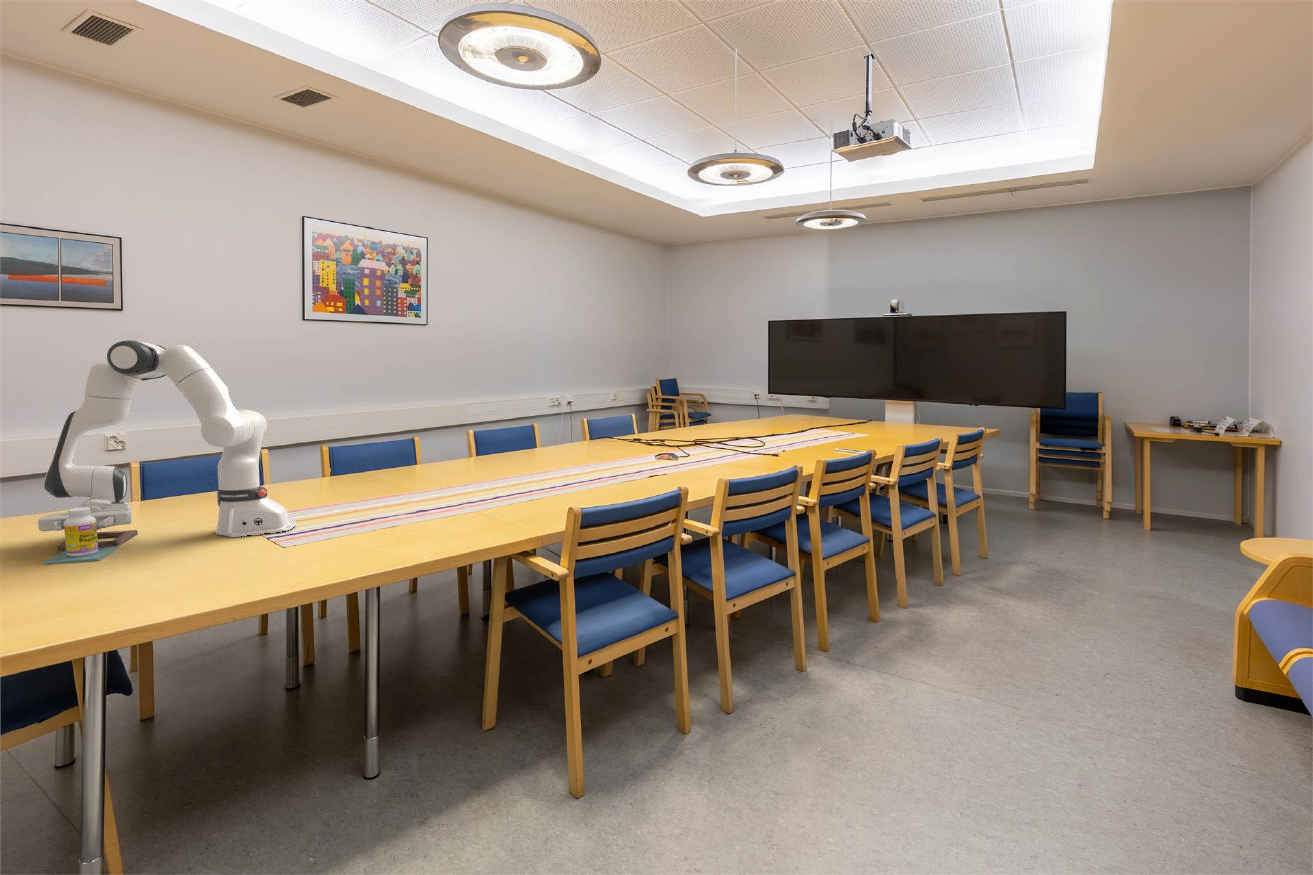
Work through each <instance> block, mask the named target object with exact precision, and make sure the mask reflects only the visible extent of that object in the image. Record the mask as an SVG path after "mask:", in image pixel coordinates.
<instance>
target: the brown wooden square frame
mask: <svg viewBox="0 0 1313 875" xmlns="http://www.w3.org/2000/svg"><path fill="white" fill-rule="evenodd" d="M138 534H139V533H138V529H129V530H114V531H113V530H112V531H97V539H112V538H113V539H112V540H103V541H102V540H100V541H99V540H97V541H98V548H102V547H117V546H118V547H119V546H121V545H123V544H125V543H126V542H128V541H130V540H131V539H133V538H134V537H136V536H138ZM56 547H57V548H56V550H57V551H58V552H59V550H61V551H66V543H65V541H64V542H62V543H60V544H58V545H57V546H56Z"/></svg>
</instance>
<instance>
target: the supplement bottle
mask: <svg viewBox="0 0 1313 875" xmlns="http://www.w3.org/2000/svg"><path fill="white" fill-rule="evenodd" d="M90 512H91V510H90V508H89V507H80V508H77V507H74V508H69V509H67V513H68V515H69V518H68V519H67V520H65V522H64V542H65V543H66V550H65V551H66V554H67V556H70V557H80V556H87V555H91V554H94V553H96V552H97V551H98V541H99V540H98V538H97V532H98V530H97V528H96V519H95V518H94V517H92V516H90Z"/></svg>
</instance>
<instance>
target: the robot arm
mask: <svg viewBox="0 0 1313 875" xmlns="http://www.w3.org/2000/svg"><path fill="white" fill-rule="evenodd" d="M164 377H167V378H169V380H170V381H171V382H172V383H173V384H174V385H175V387H176V388H177V389H178V391H179V392H180V393H181V394H182V396H184V398H185V399H186V401H188V403H189V404H190V406H191V407H192V408H193V409H194V410H193V411H194V412H195V413H196V416H197V417H198V420H199V423H200V424H201V428H200V433H201V437H202V438H203V440H204V442H206V443H207V444H208V445H210V446H213V447H218V448H223V450H222V454H221V458H220V459H219V460H218V463H217V479H218V482H217V483H218V489H217V493H216V497H217V500H216V502H217V506H218V507H219V508H218V509H219V510H218V519H217V523H216V524H217V526H216V528H215V534H216V535H219V536H225V537H229V538H240V537H241V536H242V537H248V536H247V535H252V536H261V535H265V534H264V533H271V534H277V533H276V532H280V533H283V532H282V531H286V530H289V531H291V530H290V529H291V528H293V527H294V526H295V525H296V526H297V521H296V519H295V520H294V519H289V518H290V517H289V514H288V511H287V508H286V507H285V506H284V505H283V504H280V503H278V502H277V501H275V500H273V499H271V498H270V497H268V487H267V486H265V487H264V486H262V485H260V470H259V469H260V468H259V467H260V466H259V463H260V455H261V450H262V443H263V439H264V435H265V433H266V432H267V429H268V422H267V421H268V420H266V417H265V416H264V415H263V414H262V413H260V412H258V411H255V410H251V409H237V408H236V407H235V405H234V404H233V402H232V400H231V397H230V395H229V393H230V391H229V388H228V386H227V384H225V383H224V381H223V380H222V379H221V377H219V375H218V374H217V372H216V371H215V370H214V369H213V368H212V366H211V365H210V364H209V363H208V362H207V361H206V360H205V359H204V358H203V357H202V356H201V355H200V354H199V353H198V352H196V350H194V349H193V348H192V347H191V346H188V345H185V344H176V345H173V346H169V347H168V348H166V347H164V346H161V345H159V344H154V343H150V342H147V341H138V340H137V341H136V340H122V341H118V342H115V343H114V344H113V345H111V346H110V348H109V349H108V350H107V354H106V360H103V361H98V362H96V363H94V364H93V365H92V366H91V367H90V370H89V373H88V376H87V378H86V379H87V380H86V384H85V390H84V391H85V392H84V399H83V402H82V404H81V406H80V407H79V408H78V409H77V410H75V411H72V412H70V413H69V415H68V416H67V418H66V419H65V422H64V424H63V428H62V429H61V433H60V435H59V438H58V442H57V444H56V445H57V446H56V448H55V450H54V451H55V452H54V455H53V458H52V461H51V463H50V467H49V468H48V470H47V473H45V474H46V475H45V476H44V479H43V480H44V481H43V485H44V486H43V488H44V490H45V491H46V492H47V493H48V494H49V495H51V496H53V497H55V498H57V499H63V498H88V499H86V500H85V501H83V502H82V503H80V504H79V505H78V506H76V508H80V507H89V508H90V510H91V512H90V516H92V517H94V518H95V519H96V528H97V531H98V530H99V531H100V530H101V529H106V528H110V527H115V526H122V525H130V524H132V523H133V514H132V507H131V504H130V502H128V501H122V500H123V499H124V498H125V497H126V495H127V490H128V477H127V475H126V473H125V472H124V471H123V470H122V469H121V468H120V467H118V466H116V465H115V466H113V465H112V466H111V465H84V464H74V463H73V460H74V456H75V453H76V450H77V446H78V443H79V441H80V438H81V437H82V436H83V435H84V434H86V433H88V432H91V431H95V430H99V429H104V428H107V427H111V426H112V427H113V426H115V425H118V424H120V423H122V422H124V421H125V420H126V419H127V418H128V417H129V416H130V413H131V409H132V404H133V390H134V386H135V384H136V383H137V382H138V381H148V380H156V379H161V378H164ZM68 518H69V515H68V512H59V513H52V514H48V515H44V516H42V517H39V519H38V520H37V527H38V530H39V531H40V532H50V531H51V532H52V531H55V532H58V531H63V530H64V522H65V520H67V519H68ZM296 526H295V527H296ZM293 529H294V528H293ZM286 532H287V531H286ZM260 534H261V535H260Z"/></svg>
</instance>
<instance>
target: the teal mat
mask: <svg viewBox="0 0 1313 875" xmlns="http://www.w3.org/2000/svg"><path fill="white" fill-rule="evenodd" d="M118 549H120V548H119V546H117V547H102V548H98V551H97V552H96V553H94V554H91V555H87V556H80V557H70V556H67V554H66V550H63V551H62V552H60V553H58V554H56V555H55V556H52V557H51V558H49V559H47V560H45V561H44V562H43V563H42V564H43V565H56V564H57V563H59V564H71V563H81V562H83V563H85V562H97V561H98V562H99V561H100V560H102V559H104V558H106V557H107V556H109V555H110V554H112V553H114V552H115V551H117V550H118ZM57 565H58V564H57Z"/></svg>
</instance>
